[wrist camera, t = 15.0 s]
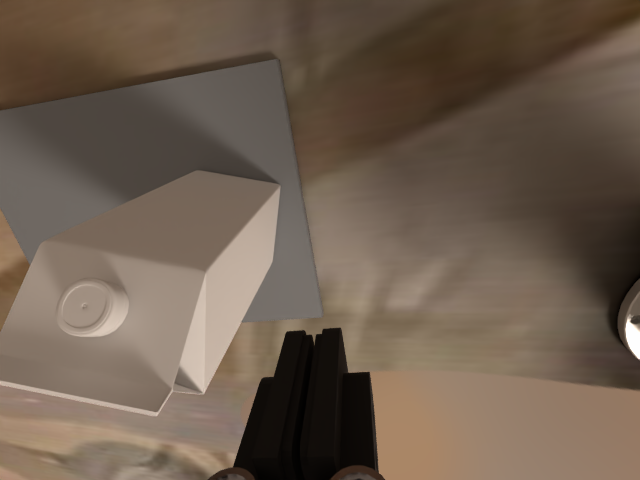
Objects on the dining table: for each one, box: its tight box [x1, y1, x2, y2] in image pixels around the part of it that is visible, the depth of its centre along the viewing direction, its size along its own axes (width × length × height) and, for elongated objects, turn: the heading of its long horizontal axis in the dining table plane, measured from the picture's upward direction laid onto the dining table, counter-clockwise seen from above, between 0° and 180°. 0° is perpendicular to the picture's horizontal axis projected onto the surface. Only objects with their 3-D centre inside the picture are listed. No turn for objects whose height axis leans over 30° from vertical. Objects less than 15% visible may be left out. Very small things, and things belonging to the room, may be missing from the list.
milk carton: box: [0, 170, 281, 416], centre depth 21 cm, size 7×7×19 cm
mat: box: [0, 59, 323, 322], centre depth 31 cm, size 28×22×1 cm
